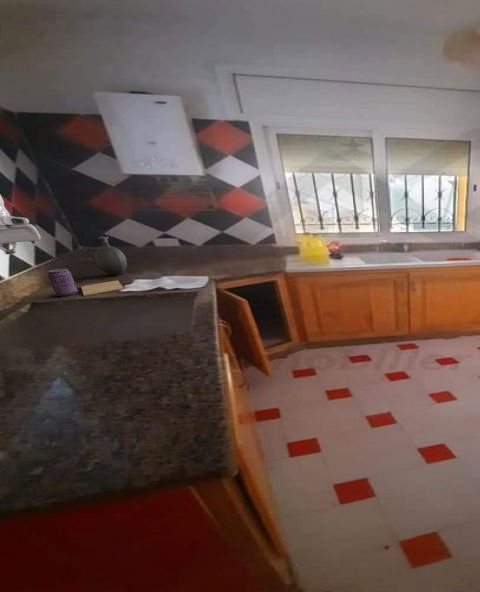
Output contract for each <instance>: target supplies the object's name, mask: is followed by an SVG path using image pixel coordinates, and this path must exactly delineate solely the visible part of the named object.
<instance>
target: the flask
mask: <svg viewBox="0 0 480 592" xmlns="http://www.w3.org/2000/svg"><path fill="white" fill-rule="evenodd" d="M108 239H110V237H109V236H99V237H97V240H100V243H101V246H99V247H98V248H97V249H96V251H95V253H94V260H95V263H96V265H97V267H98V269H100V270H101V272H104V274H107V275H109V276H120V275H122V274H123V273H124V272H125V270H126V268H127V266H128V261H127V257H126V256H125V254H124V253H123V251H121V250H120V249H119V248H117V247H115V246H112V245H110V244H109V241H108Z"/></svg>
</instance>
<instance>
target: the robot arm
mask: <svg viewBox="0 0 480 592" xmlns="http://www.w3.org/2000/svg"><path fill="white" fill-rule="evenodd" d="M41 239H42V236H41V235H40V233H39V231H38V230H37V228H36V226H35V225H33V224H31V223H30V220H29V219H28V218H27V217H22V216H18V215H17V216H16V215H11V214H10V212H9V210H8V209H7V208H6V207H5V201H4V199H3V196H2V195H1V194H0V250H1V251H3V252H4V255H14V254H17V251H16V250H15V249H16V248H17V243H25V242H26V243H27V242H36V241H40V240H41ZM4 244H10V246H12V248H10V249H6V248H4Z"/></svg>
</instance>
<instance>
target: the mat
mask: <svg viewBox="0 0 480 592" xmlns="http://www.w3.org/2000/svg"><path fill="white" fill-rule="evenodd" d="M80 288H81V291H82V295H83V296H84V297H85V296H90V295H97V294H103V293H108V292H113V291H114V292H115V291H118V290H119V291H120V290H124V286H123V284H121V282H120V281H119V280H118V279H116V280H111V281H105V282H97V283H93V284H86V285H81V286H80Z"/></svg>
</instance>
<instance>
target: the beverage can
mask: <svg viewBox="0 0 480 592" xmlns="http://www.w3.org/2000/svg"><path fill="white" fill-rule="evenodd" d="M47 277H48V279H49V282H50V285H51V286H52V289H53V292H54V294H55V295H56V296H57V297H68V296H72V295H75V294H77V293H78V292H79V290H78V288H77V286H76V283H75V280H74V278H73V276H72V273H71V271H69V269H68V268H55V269H50V270H47Z"/></svg>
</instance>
